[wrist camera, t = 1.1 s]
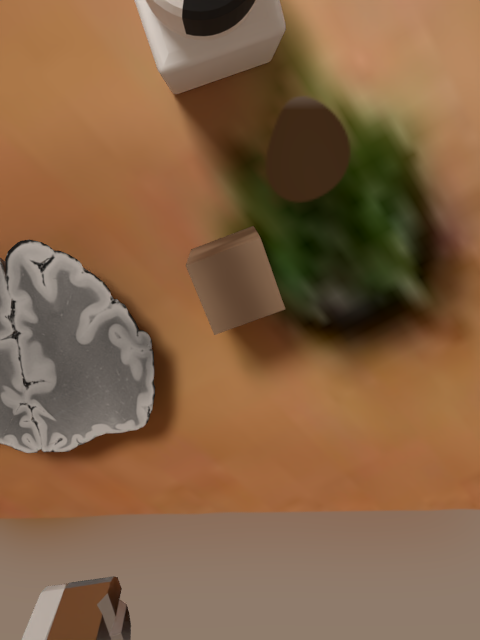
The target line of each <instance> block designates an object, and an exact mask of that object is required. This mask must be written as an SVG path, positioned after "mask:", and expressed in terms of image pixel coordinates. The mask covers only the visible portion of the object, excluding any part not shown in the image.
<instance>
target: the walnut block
mask: <svg viewBox="0 0 480 640" xmlns="http://www.w3.org/2000/svg"><path fill="white" fill-rule="evenodd" d="M186 267H187V270H188V272H189V275H190V277H191V279H192V282H193V284H194V287H195V289H196V291H197V294H198V296H199V299H200V301H201V303H202V306H203V308H204V311H205V313H206V316H207V318H208V320H209V323H210V325H211V328H212V330H213V332H214V335H216V334H218V333H221V332H224V331H227V330H229V329H232V328H235V327H238V326H240V325H243V324H246V323H249V322H252V321H254V320H257V319H260V318H263V317H265V316H268V315H271V314H274V313H277V312H279V311H282V310H285V307H284V304H283V301H282V298H281V295H280V292H279V289H278V287H277V284H276V281H275V278H274V275H273V272H272V269H271V267H270V264H269V261H268V258H267V255H266V252H265V249H264V247H263V244H262V241H261V238H260V236H259V234H258V233H257V231H256V229H255V228H254V226H252V227H249V228H247V229H244V230H241V231H239V232H236V233H234V234H231V235H228V236H226V237H223V238H220V239H218V240H215V241H212V242H210V243H207V244H204V245H202V246H199V247H196V248H194V249H191V252H190V255H189V258H188V261H187V264H186Z"/></svg>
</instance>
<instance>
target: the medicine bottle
mask: <svg viewBox="0 0 480 640" xmlns="http://www.w3.org/2000/svg"><path fill="white" fill-rule="evenodd" d="M135 3H136V6H137V9H138V12H139V15H140V18H141V21H142V24H143V27H144V30H145V33H146V36H147V39H148V42H149V45H150V48H151V51H152V54H153V57H154V60H155V63H156V66H157V69H158V71H159V73H160V74H161V76H162V77H163V79H164V80H165V82H166V84H167V85H168V87H169V88H170V90H171V92H172V93H174V94H179V93H182V92H185V91H188V90H191V89H194V88H197V87H199V86H202V85H205V84H208V83H211V82H214V81H217V80H219V79H222V78H225V77H228V76H231V75H234V74H237V73H239V72H242V71H245V70H248V69H251V68H254V67H257V66H260V65H262V64H265V63H268V62H270V61H271V60H272V57H273V55H274V53H275V51H276V49H277V47H278V45H279V43H280V40H281V38H282V36H283V34H284V32H285V30H286V24H285V20H284V16H283V12H282V8H281V4H280V0H135Z"/></svg>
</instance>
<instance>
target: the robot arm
mask: <svg viewBox="0 0 480 640" xmlns="http://www.w3.org/2000/svg"><path fill="white" fill-rule="evenodd" d="M121 589H122V588H121V586H120V583H119V580H118V577H107V578H100V579H93V580H86V581H78V582H72V583H68V584H61V585H54V586H47V587H46V588H45V589H44V590H43V591H42V592H41V594H40V596H39V598H38V600H37V603H36V605H35V608H34V610H33V613H32V615H31V617H30V620H29V623H28V625H27V627H26V630H25V632H24V634H23V637H22V639H21V640H130V637H131V636H130V635H131V623H130V615H129V611H128V607H127V604H126V603H124V602H123V601H121V600H120V594H121Z"/></svg>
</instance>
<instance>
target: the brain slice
mask: <svg viewBox="0 0 480 640" xmlns="http://www.w3.org/2000/svg"><path fill="white" fill-rule="evenodd" d="M154 397H155V386H154V355H153V350H152V340H151V338H150V336H149V335H148V333H146V332H145V331H142V330H139V329H138V326H137V324H136V322H135V321H134V319H133V318H132V316H131V315H130V313H129V311H128V309H127V308H126V306H125V305H124V304H122V303H120V302H119V301H118V300H117V299H113V297H112V296H111V293H110V290H109V289H108V288H107V286H106V285H105V284H104V283H103V282H102V281H101V280H100V279H99V278H97V277H96V276H95V275H94V274H92V273H91V272H89V271H88V270H86V269H85V268H83V267H82V265H81V263H80V262H79V261H78V260H77V259H75V258H73V257H72V256H70V255H68V254H66V253H64V252H61V251H54V250H53V249H52V248H51V247H49V246H48V245H46V244H44V243H42V242H38V241H33V240H24V241H20V242H18V243H17V244H15V245H14V246H13V247H12V248H11V249H10V250H9V251H8V253H7V256H6V259H5V261H4V260H2V259H1V258H0V443H1V444H4V445H8V446H11V447H12V448H14V449H16V450H19V451H23V452H26V453H36V452H38V450H40V449H41V450H42V451H43V452H68V451H70V450H72V449H74V448H76V447H77V446H78V445H81V444H84V443H86V442H88V441H91V440H93V439H94V438H95V437H97V436H100V435H103V434H106V433H124V432H127V431H133V430H138V429H140V428H142V427H144V426H145V424H146V423H147V422H148V420H149V417H150V413H151V411H152V407H153V402H154Z"/></svg>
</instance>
